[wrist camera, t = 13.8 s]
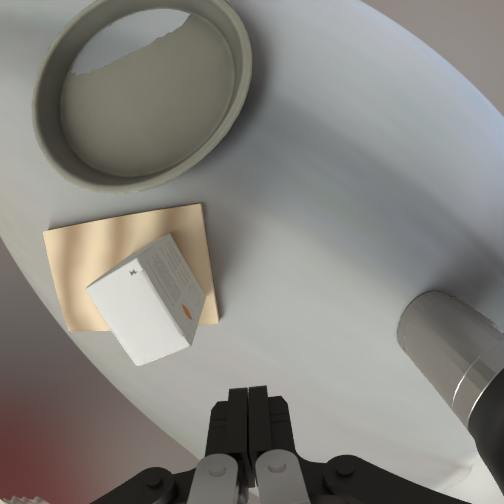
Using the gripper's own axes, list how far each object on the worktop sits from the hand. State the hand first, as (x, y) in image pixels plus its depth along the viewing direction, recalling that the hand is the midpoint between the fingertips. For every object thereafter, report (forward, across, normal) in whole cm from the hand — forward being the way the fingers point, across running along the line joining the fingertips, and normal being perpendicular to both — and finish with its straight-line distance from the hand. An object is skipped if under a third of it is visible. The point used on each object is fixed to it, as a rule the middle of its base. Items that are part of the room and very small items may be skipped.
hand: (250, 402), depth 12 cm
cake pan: (+22, +10, -22) cm, 32 cm away
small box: (+21, +9, 0) cm, 23 cm away
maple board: (+22, +14, 0) cm, 26 cm away
